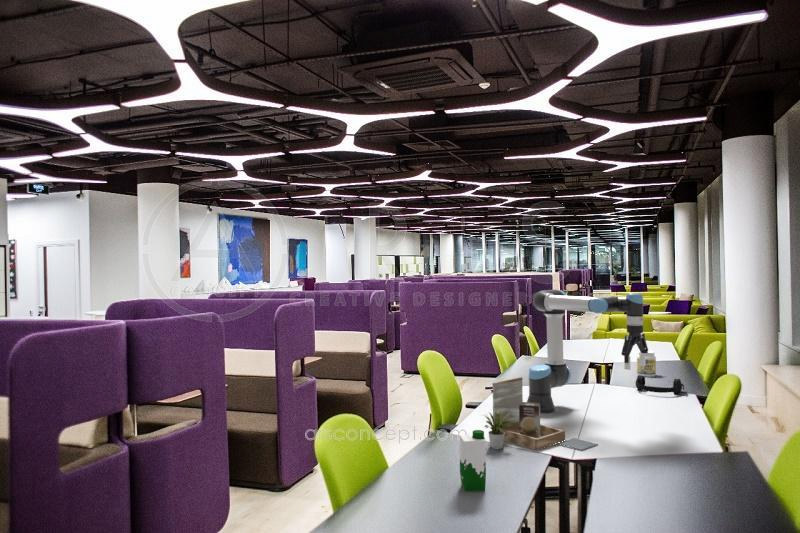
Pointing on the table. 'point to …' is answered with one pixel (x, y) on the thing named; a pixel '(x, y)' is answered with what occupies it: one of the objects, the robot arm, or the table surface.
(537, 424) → the coffee box
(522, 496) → the table surface
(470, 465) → the milk carton
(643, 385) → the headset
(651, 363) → the supplement tub
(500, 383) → the frame
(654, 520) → the table surface
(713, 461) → the table surface
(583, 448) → the mat
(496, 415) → the house plant
